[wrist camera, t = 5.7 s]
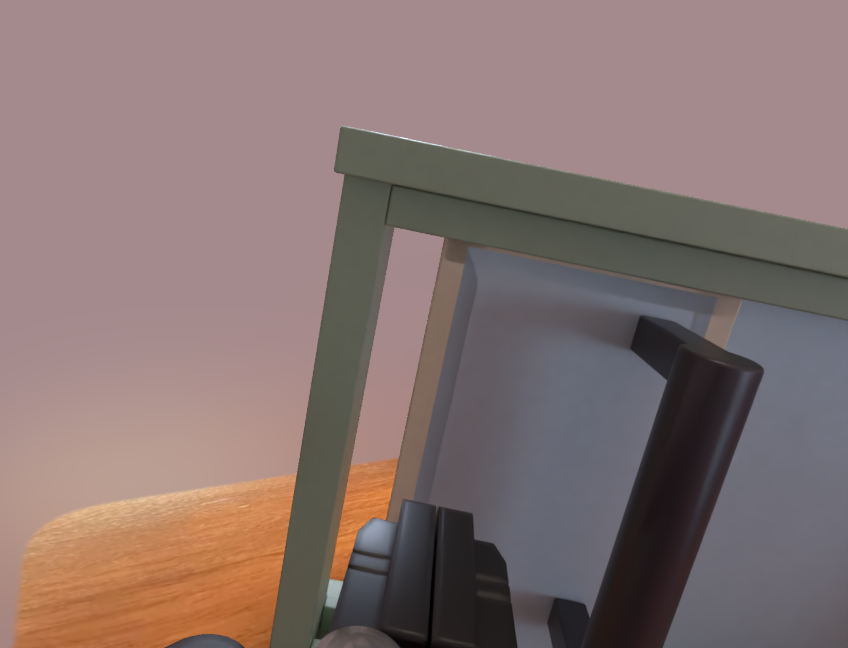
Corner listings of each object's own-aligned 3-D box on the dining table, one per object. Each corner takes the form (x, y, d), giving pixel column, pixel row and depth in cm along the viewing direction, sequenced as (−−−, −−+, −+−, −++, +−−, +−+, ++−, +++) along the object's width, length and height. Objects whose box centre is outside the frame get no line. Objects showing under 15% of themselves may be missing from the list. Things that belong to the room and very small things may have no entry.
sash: (650, 865, 13) (877, 311, 10) (328, 794, 13) (445, 222, 10) (598, 686, 18) (739, 275, 14) (362, 636, 18) (449, 215, 15)
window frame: (1039, 935, 15) (1437, 345, 11) (235, 759, 15) (332, 119, 11) (864, 715, 21) (1074, 291, 17) (300, 594, 21) (377, 148, 17)
